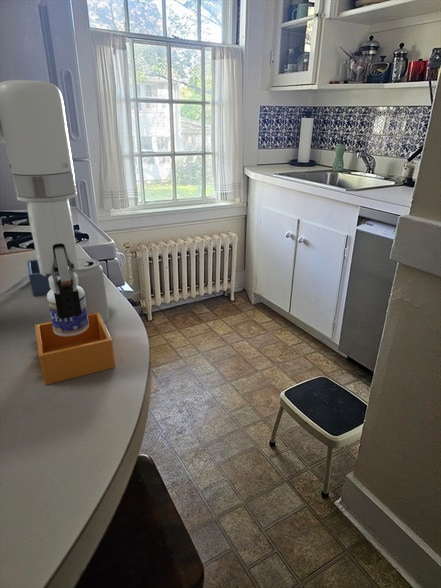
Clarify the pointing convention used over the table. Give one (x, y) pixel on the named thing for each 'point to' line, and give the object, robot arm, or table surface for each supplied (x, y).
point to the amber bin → (74, 351)
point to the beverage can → (93, 286)
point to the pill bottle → (70, 324)
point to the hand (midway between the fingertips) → (67, 306)
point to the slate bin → (38, 279)
